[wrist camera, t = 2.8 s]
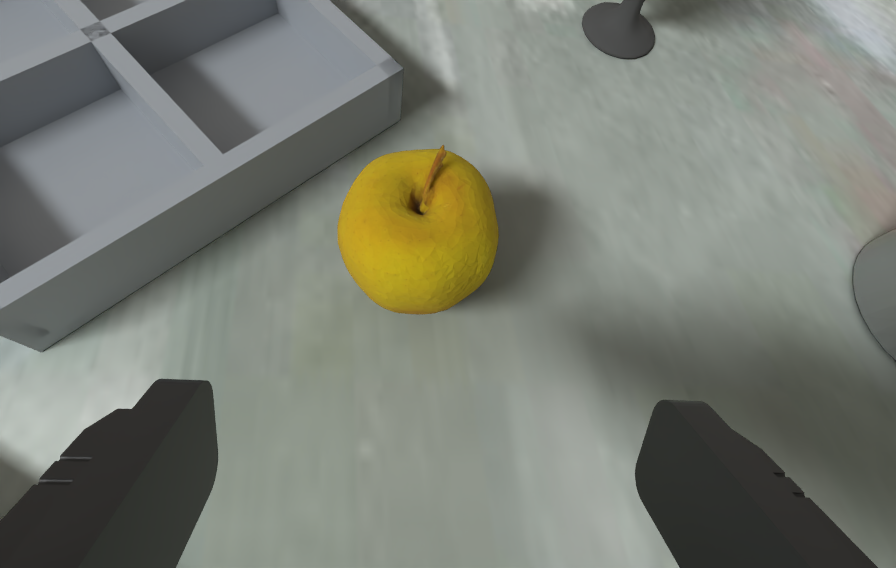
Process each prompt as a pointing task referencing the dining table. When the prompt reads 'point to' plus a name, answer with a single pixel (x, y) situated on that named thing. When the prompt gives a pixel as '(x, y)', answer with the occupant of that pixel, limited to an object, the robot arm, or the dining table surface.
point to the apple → (418, 230)
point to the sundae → (619, 29)
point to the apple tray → (162, 136)
